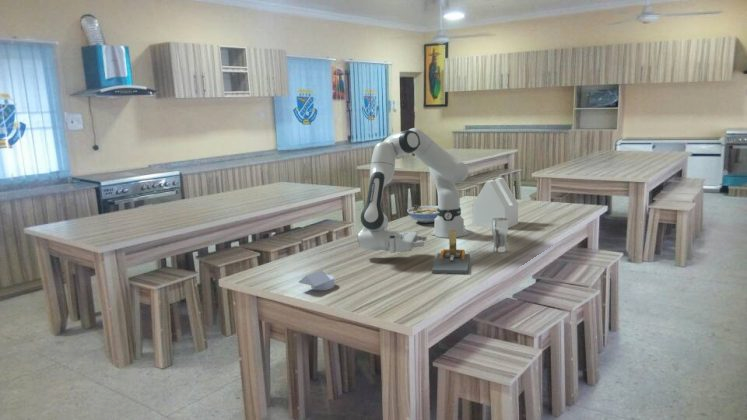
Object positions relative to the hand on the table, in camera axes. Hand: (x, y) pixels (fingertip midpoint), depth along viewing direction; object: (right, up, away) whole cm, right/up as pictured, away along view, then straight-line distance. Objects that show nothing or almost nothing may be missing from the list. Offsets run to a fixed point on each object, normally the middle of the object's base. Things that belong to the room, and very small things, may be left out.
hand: (425, 241), depth 239 cm
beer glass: (+35, -5, +8) cm, 36 cm away
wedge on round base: (-43, -16, -30) cm, 55 cm away
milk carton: (+44, +5, +60) cm, 75 cm away
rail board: (+10, -9, -9) cm, 16 cm away
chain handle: (+11, -7, -5) cm, 14 cm away
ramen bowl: (+8, +7, +74) cm, 75 cm away
